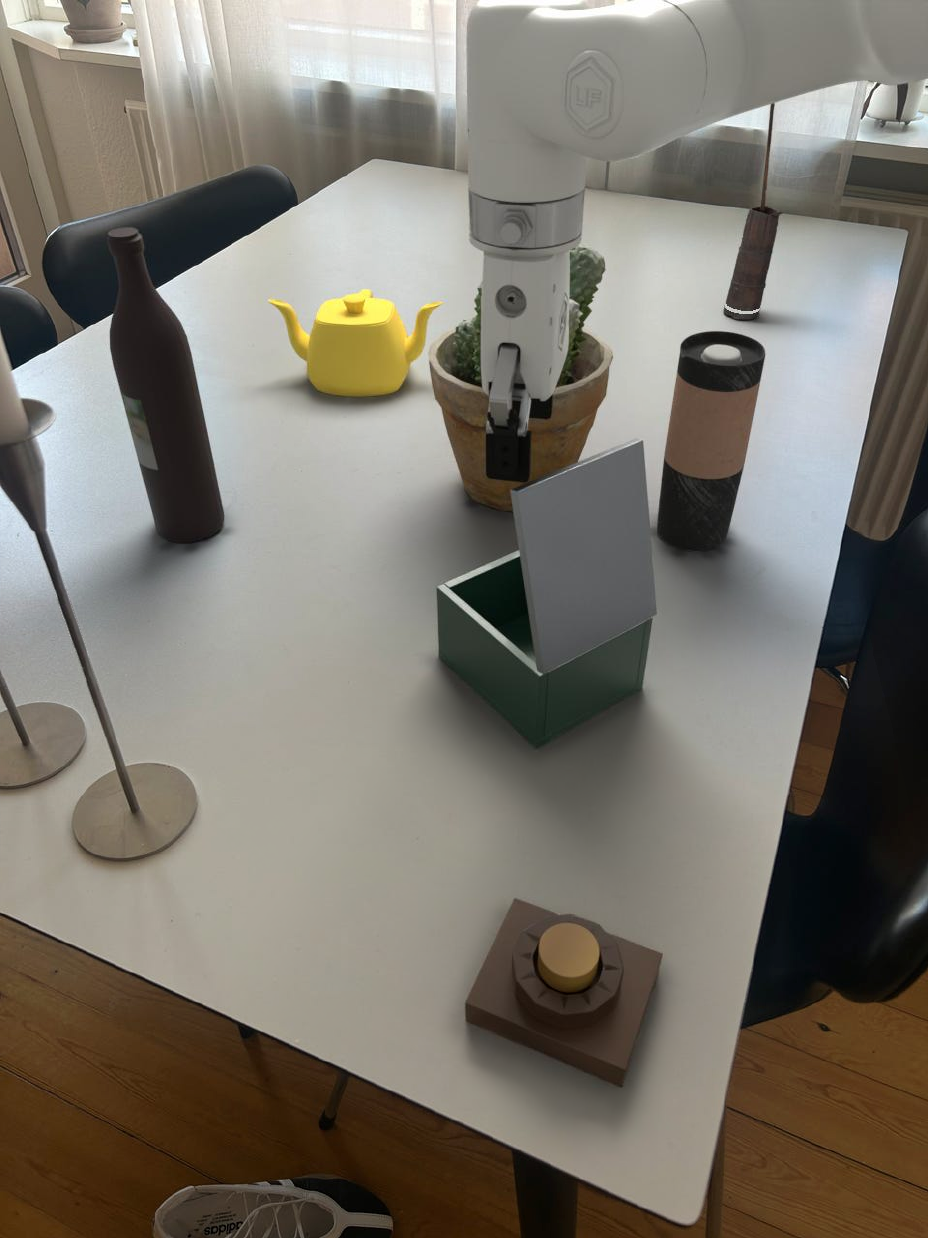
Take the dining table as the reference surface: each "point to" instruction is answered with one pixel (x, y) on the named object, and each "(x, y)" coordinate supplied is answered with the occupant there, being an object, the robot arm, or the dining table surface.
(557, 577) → the tin lid
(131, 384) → the wine bottle
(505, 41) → the robot arm
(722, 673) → the dining table surface
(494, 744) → the dining table surface
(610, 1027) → the button block
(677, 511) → the travel mug
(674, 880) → the dining table surface
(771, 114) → the butter churn
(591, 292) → the potted plant
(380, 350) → the teapot
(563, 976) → the button
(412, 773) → the dining table surface
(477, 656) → the tin
